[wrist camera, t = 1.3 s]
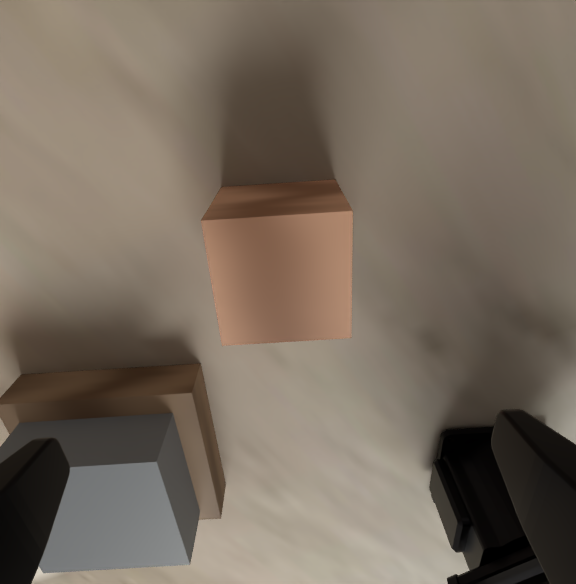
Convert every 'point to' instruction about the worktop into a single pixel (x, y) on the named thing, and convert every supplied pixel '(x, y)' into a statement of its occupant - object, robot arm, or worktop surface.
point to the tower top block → (118, 493)
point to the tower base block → (130, 411)
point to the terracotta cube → (280, 262)
